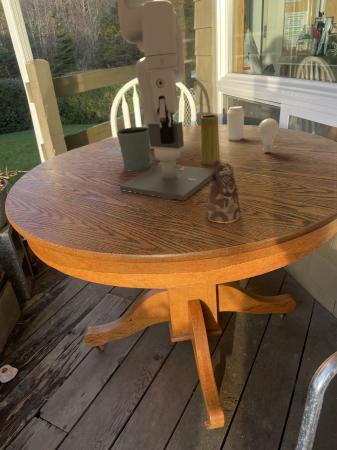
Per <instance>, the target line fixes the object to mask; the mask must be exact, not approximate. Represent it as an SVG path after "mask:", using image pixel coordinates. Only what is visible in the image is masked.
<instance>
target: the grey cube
mask: <svg viewBox="0 0 337 450" xmlns="http://www.w3.org/2000/svg"><path fill="white" fill-rule="evenodd" d="M171 127H173V139H174V142H173V143H172V144H161V137H160V122H151V123H148V129H149V137H150V146H154V149H153V151H154V159H155V161H159V162H161V161H171V160H175V159H176V160H178V159H180V158H181V157H182V153H181V148H183V147H184V144H185V143H184V130H183V129H184V128H183V122H182V121H174V122H171Z"/></svg>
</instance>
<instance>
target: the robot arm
mask: <svg viewBox="0 0 337 450" xmlns="http://www.w3.org/2000/svg"><path fill="white" fill-rule="evenodd" d="M117 13H118V23H119V28H120V33H121V36H122V38H123V40H124V41H125V42H126V43H128V44H132V45H135V44H136V46H137V49H139V51H141V52H143V53H144V57H141V58H139V59H138V60H137V61H136V64H135V73H136V79H137V82H138V86H139V89H140V97H141V103H142V111H143V120H144V127H146V128H148V123H151V122H160V137H161V144H172V143H173V142H174V139H173V127H171V122H175V121H174V119H175V118H174V115H175V114H176V113H177V112H178V109H179V105H178V95H177V94H178V93H177V84H178V83H181V82H182V81H184V79H185V72H186V70H185V68H186V67H185V58H184V57H185V55H184V42H183V33H182V32H183V31H182V27H181V23H180V21H179V19H178V14H177V12H176V11H175V9H174V7H173V4H172V2H171V1H169V0H118V1H117ZM149 146H150V143H149ZM150 150H154V146H150Z"/></svg>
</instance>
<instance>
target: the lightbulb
mask: <svg viewBox="0 0 337 450" xmlns="http://www.w3.org/2000/svg"><path fill="white" fill-rule="evenodd" d="M257 131H258V135H259V136H260V137H261V140H262V141H261V142H262V144H263V152H264V153H265V154H269V153H271V152H272V149H273V148H272V147H273V143H274V139H275V138H276V137H277V135H278V134H279V131H280V125H279V122H278V121H277V120H276V119H274V118H271V117H270V118H269V117H268V118H265V119H263V120H261V122H260V123H259V125H258V129H257Z"/></svg>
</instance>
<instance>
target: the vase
mask: <svg viewBox="0 0 337 450" xmlns="http://www.w3.org/2000/svg"><path fill="white" fill-rule="evenodd" d="M200 137H201V138H200V140H201V141H200V143H201V146H200V147H201V160H200V163H201V164H203V165H205V166H206V165H207V166H208V165H209V166H210V165H211V166H214V165H213V161H215V160H217V161H218V163H219V164H220V163H221V157H220V137H219V115H217V114H204V115H201V116H200Z"/></svg>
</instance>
